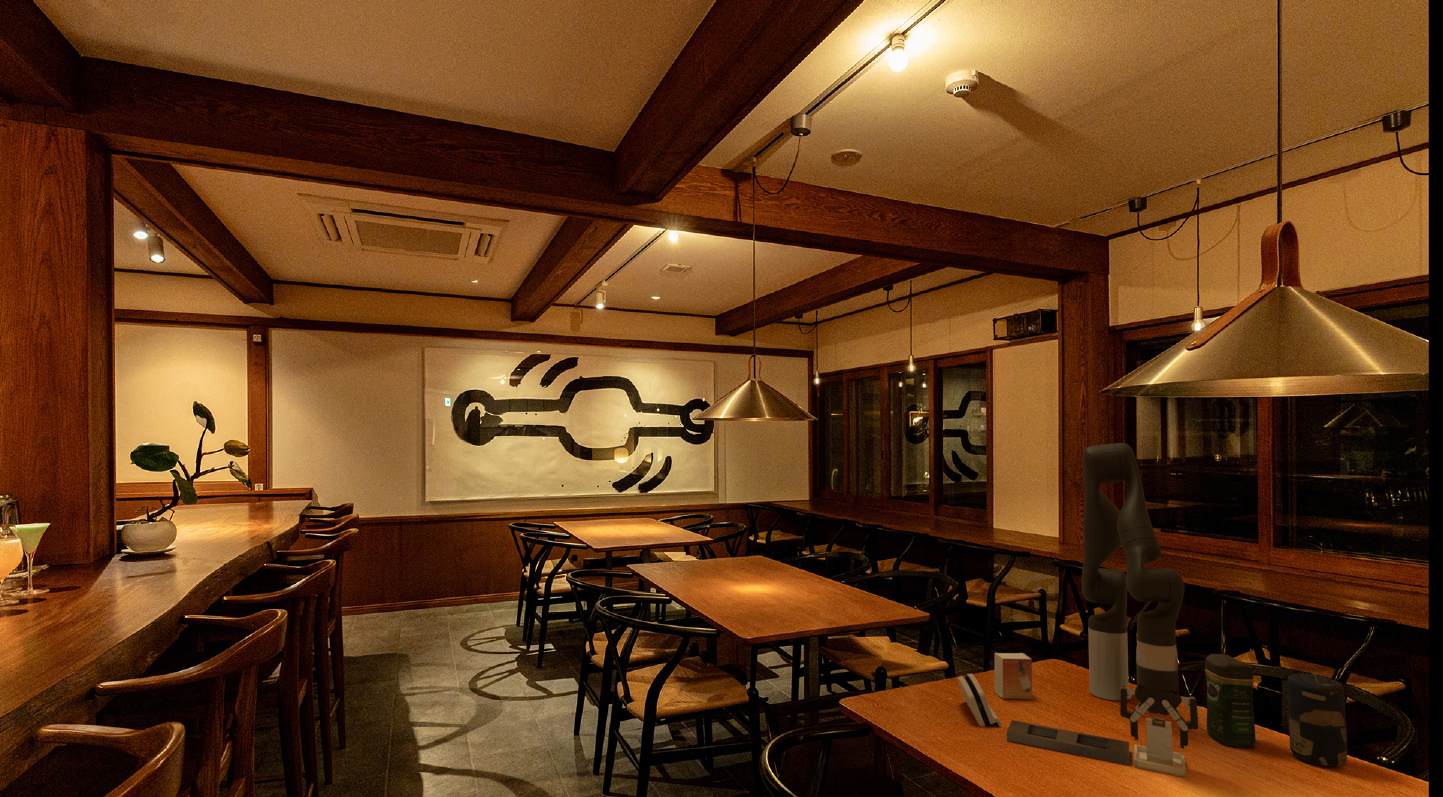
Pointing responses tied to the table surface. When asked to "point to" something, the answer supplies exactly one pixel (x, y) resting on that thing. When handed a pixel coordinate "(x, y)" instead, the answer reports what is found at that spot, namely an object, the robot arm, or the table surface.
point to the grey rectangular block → (1159, 741)
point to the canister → (1317, 719)
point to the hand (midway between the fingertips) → (1158, 743)
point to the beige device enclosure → (977, 700)
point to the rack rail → (1069, 742)
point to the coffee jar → (1230, 701)
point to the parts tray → (1176, 770)
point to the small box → (1013, 676)
